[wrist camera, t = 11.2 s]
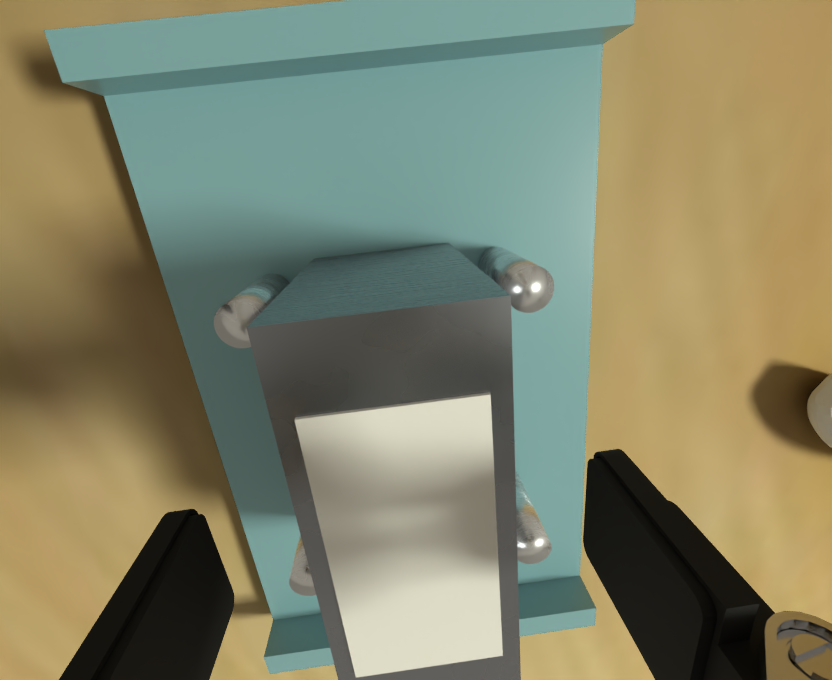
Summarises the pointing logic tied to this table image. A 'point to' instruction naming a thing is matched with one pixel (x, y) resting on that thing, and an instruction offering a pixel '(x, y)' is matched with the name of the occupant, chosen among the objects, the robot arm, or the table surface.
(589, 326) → the pin tray
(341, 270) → the block
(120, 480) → the table surface
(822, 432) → the game controller
